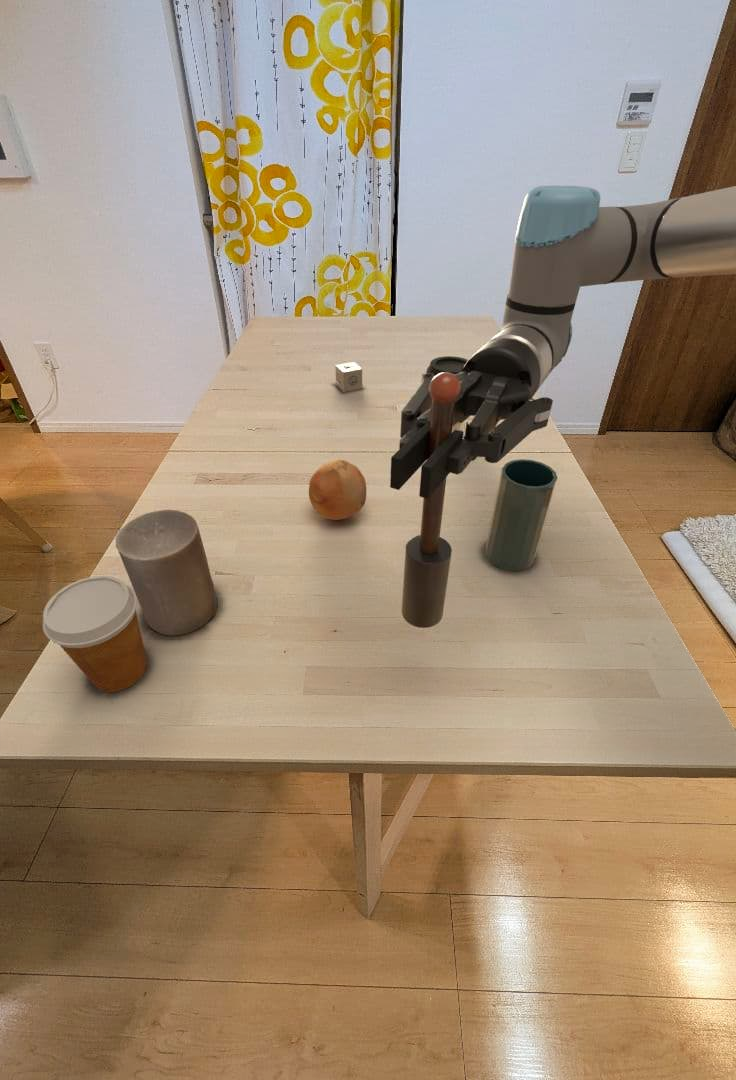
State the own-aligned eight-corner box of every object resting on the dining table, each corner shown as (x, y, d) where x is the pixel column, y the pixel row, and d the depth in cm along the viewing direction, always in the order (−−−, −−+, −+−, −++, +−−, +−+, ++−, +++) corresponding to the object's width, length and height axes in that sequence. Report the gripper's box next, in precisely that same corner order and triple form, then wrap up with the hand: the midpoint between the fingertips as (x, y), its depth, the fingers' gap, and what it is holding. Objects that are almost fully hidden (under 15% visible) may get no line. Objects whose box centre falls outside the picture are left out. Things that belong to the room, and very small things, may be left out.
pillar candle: (220, 582, 76) (200, 497, 66) (215, 633, 68) (191, 546, 59) (151, 588, 75) (120, 503, 65) (138, 641, 67) (101, 554, 58)
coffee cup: (422, 443, 108) (428, 373, 98) (420, 421, 115) (425, 354, 106) (469, 444, 108) (480, 374, 98) (464, 422, 115) (473, 355, 106)
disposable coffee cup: (125, 629, 69) (96, 562, 61) (176, 659, 65) (152, 592, 57) (60, 681, 62) (18, 614, 55) (113, 718, 59) (75, 651, 51)
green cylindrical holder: (543, 558, 80) (568, 475, 71) (512, 578, 77) (533, 494, 67) (506, 534, 85) (525, 453, 75) (475, 552, 81) (490, 470, 72)
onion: (320, 494, 93) (317, 444, 87) (373, 502, 91) (374, 452, 85) (301, 525, 86) (296, 474, 80) (358, 535, 84) (358, 484, 78)
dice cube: (336, 384, 131) (335, 365, 128) (354, 381, 132) (353, 362, 129) (343, 392, 127) (343, 372, 124) (362, 388, 129) (362, 369, 126)
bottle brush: (451, 615, 55) (488, 375, 38) (420, 634, 53) (446, 390, 36) (423, 591, 58) (446, 358, 41) (393, 609, 56) (405, 371, 39)
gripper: (568, 422, 54) (497, 547, 39) (438, 393, 60) (328, 492, 44) (587, 350, 50) (515, 459, 34) (444, 326, 55) (324, 410, 39)
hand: (410, 478), depth 39 cm, fingers closed on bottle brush, 2 cm apart
